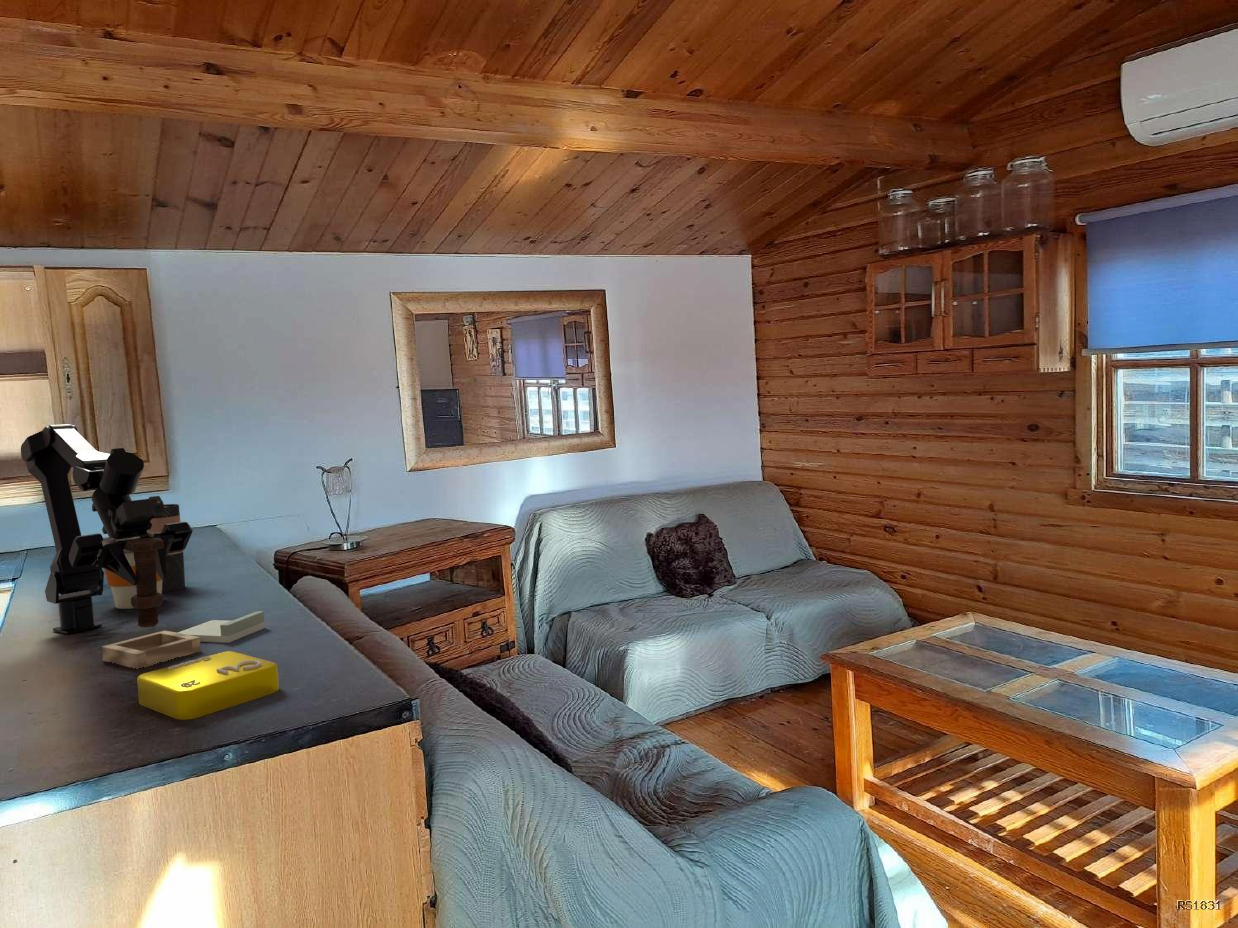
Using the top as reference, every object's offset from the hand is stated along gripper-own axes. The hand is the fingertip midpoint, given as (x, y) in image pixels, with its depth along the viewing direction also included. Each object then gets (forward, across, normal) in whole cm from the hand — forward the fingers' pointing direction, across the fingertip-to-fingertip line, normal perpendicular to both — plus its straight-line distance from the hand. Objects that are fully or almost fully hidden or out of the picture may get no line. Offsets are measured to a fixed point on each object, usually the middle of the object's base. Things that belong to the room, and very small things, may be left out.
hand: (150, 581), depth 149 cm
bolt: (+5, 0, +7) cm, 8 cm away
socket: (+9, 0, +10) cm, 13 cm away
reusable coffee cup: (-24, +17, +44) cm, 53 cm away
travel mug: (-31, +28, +51) cm, 66 cm away
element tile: (+30, -5, -11) cm, 32 cm away
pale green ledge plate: (+6, +14, +13) cm, 20 cm away
